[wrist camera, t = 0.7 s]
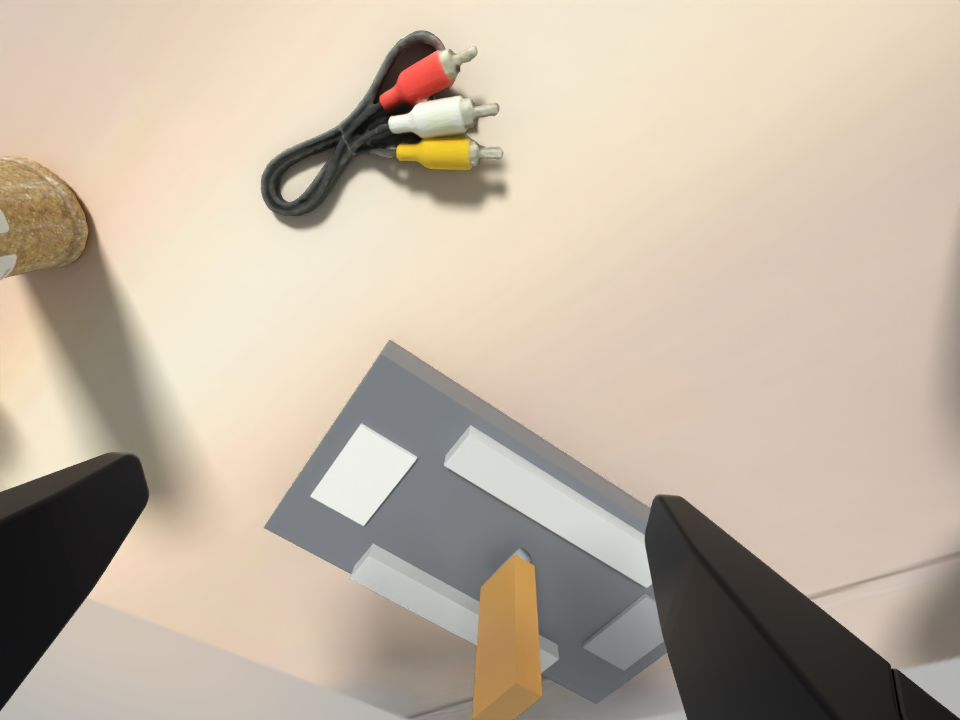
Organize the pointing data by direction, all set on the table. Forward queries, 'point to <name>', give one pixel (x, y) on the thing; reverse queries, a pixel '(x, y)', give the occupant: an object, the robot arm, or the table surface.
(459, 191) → the table surface
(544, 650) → the base
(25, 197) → the sprinkles bottle
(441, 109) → the composite cable
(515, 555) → the lever
